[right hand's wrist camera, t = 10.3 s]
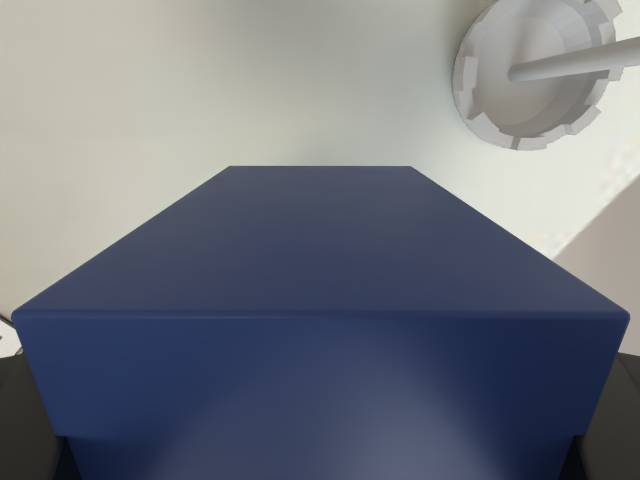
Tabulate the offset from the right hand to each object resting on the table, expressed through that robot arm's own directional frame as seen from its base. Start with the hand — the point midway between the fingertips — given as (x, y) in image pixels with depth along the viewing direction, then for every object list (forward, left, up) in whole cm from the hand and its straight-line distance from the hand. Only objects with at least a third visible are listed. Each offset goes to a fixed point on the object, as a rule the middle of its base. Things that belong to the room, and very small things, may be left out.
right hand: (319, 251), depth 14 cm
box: (+5, +8, -2) cm, 10 cm away
